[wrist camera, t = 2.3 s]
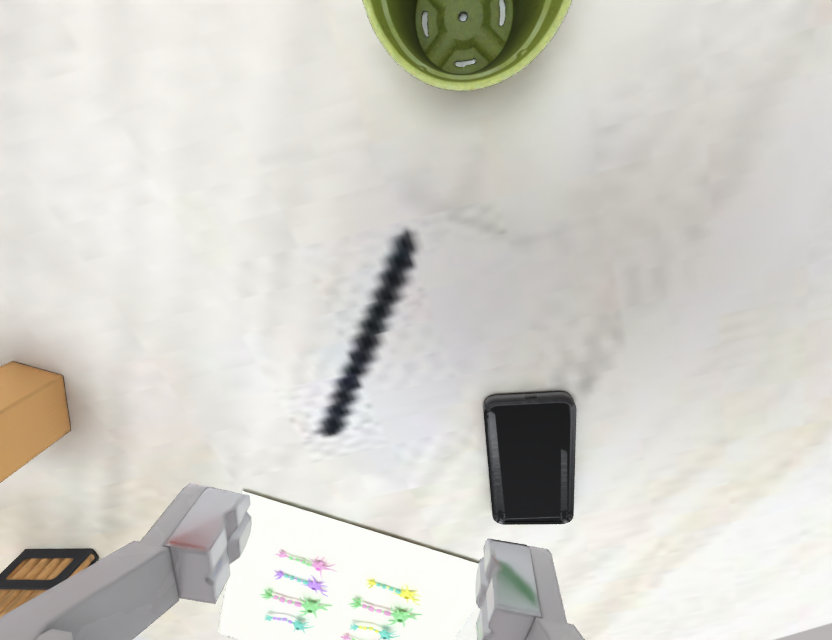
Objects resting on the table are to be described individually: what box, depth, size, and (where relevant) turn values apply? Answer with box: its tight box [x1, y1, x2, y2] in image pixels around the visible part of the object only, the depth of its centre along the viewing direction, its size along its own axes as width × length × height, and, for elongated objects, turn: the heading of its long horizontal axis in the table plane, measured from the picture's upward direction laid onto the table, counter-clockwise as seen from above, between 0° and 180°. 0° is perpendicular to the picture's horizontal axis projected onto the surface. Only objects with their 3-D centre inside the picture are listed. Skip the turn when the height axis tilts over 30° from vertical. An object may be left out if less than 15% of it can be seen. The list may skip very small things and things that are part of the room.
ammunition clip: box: [0, 549, 98, 618], centre depth 47 cm, size 11×2×12 cm, turn 99°
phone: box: [483, 391, 576, 525], centre depth 37 cm, size 8×1×15 cm
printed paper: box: [218, 491, 479, 640], centre depth 50 cm, size 30×30×2 cm
